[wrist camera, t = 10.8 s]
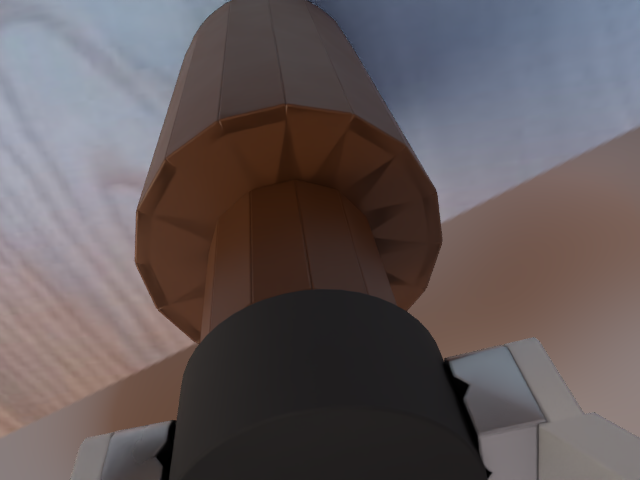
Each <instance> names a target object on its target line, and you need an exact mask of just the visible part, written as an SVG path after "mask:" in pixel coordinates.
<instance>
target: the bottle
mask: <svg viewBox="0 0 640 480" xmlns="http://www.w3.org/2000/svg"><path fill="white" fill-rule="evenodd" d="M441 245H442V231H441V222H440V213H439V204H438V195H437V192H436V189H435V187H434V185H433V184H432V182H431V180H430V179H429V177H428V175H427V173H426V172H425V170H424V168H423V167H422V165H421V163H420V161H419V160H418V158H417V156H416V155H415V153H414V151H413V150H412V148H411V146H410V144H409V143H408V141H407V139H406V138H405V136H404V134H403V132H402V131H401V129H400V127H399V126H398V124H397V122H396V121H395V119H394V117H393V115H392V114H391V112H390V110H389V109H388V107H387V105H386V104H385V102H384V100H383V98H382V97H381V95H380V93H379V92H378V90H377V88H376V86H375V85H374V83H373V81H372V80H371V78H370V76H369V75H368V73H367V71H366V69H365V68H364V66H363V64H362V63H361V61H360V59H359V58H358V56H357V54H356V52H355V51H354V49H353V47H352V46H351V44H350V43H349V41H348V40H347V38H346V37H345V35H344V33H343V32H342V30H341V29H340V27H339V26H338V24H337V23H336V21H335V20H334V19H333V18H331V17H330V16H329V15H328V14H327V13H326V12H324V11H323V10H322V9H320V8H319V7H318V6H316V5H314V4H313V3H311V2H309V1H307V0H232V1H230V2H228V3H226V4H224V5H223V6H221V7H220V8H218V9H217V10H216V11H215V12H213V13H212V14H211V15H210V16H209V17H208V18H207V19H206V20H205V21H204V23H202V25H201V26H200V28H199V29H198V31H197V33H196V34H195V36H194V38H193V40H192V42H191V44H190V47H189V49H188V50H187V52H186V54H185V57H184V60H183V63H182V66H181V70H180V73H179V76H178V79H177V82H176V85H175V89H174V92H173V95H172V98H171V101H170V105H169V108H168V111H167V114H166V117H165V120H164V124H163V127H162V130H161V133H160V136H159V140H158V143H157V146H156V149H155V152H154V156H153V159H152V162H151V165H150V168H149V171H148V175H147V178H146V181H145V184H144V187H143V191H142V194H141V197H140V200H139V203H138V206H137V210H136V234H135V263H136V266H137V269H138V271H139V273H140V275H141V277H142V279H143V281H144V283H145V285H146V287H147V290H148V292H149V294H150V296H151V298H152V300H153V302H154V304H155V306H156V308H157V309H158V311H159V312H161V313H162V314H163V315H164V316H165V317H166V318H167V319H169V320H170V321H171V322H172V323H173V324H174V325H176V326H177V327H178V328H179V329H180V330H181V331H182V332H184V333H185V334H186V335H187V336H188V337H189V338H191V339H192V340H193V341H194V342H196V343H197V344H200V343H201V342H202V340H203V339H204V338H205V337H206V335H207V334H209V333H210V332H211V331H212V330H213V329H214V328H215V327H216V326H217V325H218V324H220V323H221V322H222V321H224V320H225V319H227V318H228V317H230V316H231V315H232V314H234V313H236V312H238V311H240V310H242V309H243V308H245V307H247V306H249V305H252V304H254V303H256V302H259V301H261V300H264V299H267V298H270V297H274V296H277V295H281V294H284V293H290V292H296V291H302V290H314V289H337V290H347V291H354V292H360V293H364V294H368V295H371V296H375V297H378V298H381V299H383V300H386V301H388V302H391V303H393V304H395V305H396V306H398V307H400V308H402V309H403V310H405V311H407V310H408V309H409V308H410V307H411V306H412V305H413V304H414V302H415V301H416V300H417V299H418V298H419V297H420V296H421V294H422V293H423V292H424V291H425V289H426V288H427V286H428V283H429V280H430V276H431V274H432V271H433V268H434V265H435V263H436V260H437V257H438V254H439V251H440V248H441Z"/></svg>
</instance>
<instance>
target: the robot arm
mask: <svg viewBox="0 0 640 480" xmlns="http://www.w3.org/2000/svg"><path fill="white" fill-rule="evenodd" d="M444 364H445V367H446V370H447V372H448V375H449V377H450V380H451V382H452V385H453V388H454V390H455V393H456V395H457V398H458V400H459V402H460V405H461V407H462V410H463V412H464V415H465V419H466V421H467V424H468V426H469V429H470V431H471V434H472V437H473V439H474V442H475V444H476V447H477V450H478V452H479V455H480V457H481V459H482V462H483V464H484V466H485V469H486V474H487V479H488V480H640V438H639V437H637V436H636V435H634V434H632V433H630V432H628V431H627V430H625V429H623V428H621V427H620V426H618V425H616V424H614V423H612V422H611V421H609V420H607V419H605V418H603V417H602V416H600V415H598V414H596V413H595V412H594V413H588V414H584V412H583V411H582V409H581V407H580V406H579V404H578V403H577V401H576V400H575V398H574V396H573V395H572V393H571V392H570V390H569V388H568V387H567V385H566V383H565V382H564V380H563V378H562V377H561V375H560V374H559V372H558V370H557V369H556V367H555V365H554V364H553V362H552V361H551V360H550V357H549V356H548V354H547V353H546V351H545V349H544V348H543V346H542V344H541V343H540V341H538V340H537V339H536V338H534V337H533V338H529V339H525V340H521V341H517V342H512V343H508V344H504V345H499V346H494V347H490V348H486V349H481V350H477V351H473V352H469V353H465V354H460V355H456V356H452V357H448V358H445V360H444ZM176 422H177V421H176V420H171V421H166V422H161V423H157V424H151V425H146V426H141V427H137V428H131V429H126V430H121V431H116V432H113V433H108V434H104V435H98V436H93V437H88V438H86V439H85V440H84V442H83V443H82V444H81V446H80V447H79V451H78V454H77V457H76V461H75V464H74V467H73V471H72V474H71V478H70V480H169V475H170V467H171V460H172V452H173V445H174V437H175V430H176Z"/></svg>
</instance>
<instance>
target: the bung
mask: <svg viewBox="0 0 640 480" xmlns="http://www.w3.org/2000/svg"><path fill="white" fill-rule="evenodd" d="M169 480H488V479H487V474H486V469H485V466H484V464H483V462H482V459H481V457H480V455H479V452H478V450H477V447H476V444H475V442H474V439H473V437H472V434H471V431H470V429H469V426H468V424H467V421H466V419H465V415H464V412H463V410H462V407H461V405H460V402H459V400H458V398H457V395H456V393H455V390H454V388H453V385H452V382H451V380H450V377H449V375H448V372H447V370H446V367H445V364H444V361H443V358H442V356H441V353H440V351H439V348H438V346H437V344H436V342H435V340H434V339H433V337H432V336H431V334H430V333H429V331H428V330H427V329H426V328H425V327H424V326H423V325H422V324H421V323H420V322H419V321H418V320H417V319H416V318H414V317H413V316H412V315H411V314H409V313H408V312H407V311H405V310H403V309H402V308H400V307H398V306H396V305H395V304H393V303H391V302H388V301H386V300H383V299H381V298H378V297H375V296H371V295H368V294H364V293H360V292H354V291H347V290H337V289H314V290H302V291H296V292H290V293H284V294H281V295H277V296H274V297H270V298H267V299H264V300H261V301H259V302H256V303H254V304H252V305H249V306H247V307H245V308H243V309H242V310H240V311H238V312H236V313H234V314H232V315H231V316H230V317H228V318H227V319H225V320H224V321H222V322H221V323H220V324H218V325H217V326H216V327H215V328H214V329H213V330H212V331H211V332H210V333H209V334H207V335H206V337H205V338H204V339H203V340H202V342H201V343H200V344H199V345H198V347H197V348H196V349H195V351H194V353H193V354H192V356H191V358H190V359H189V361H188V364H187V366H186V369H185V371H184V374H183V380H182V385H181V392H180V400H179V407H178V415H177V422H176V430H175V437H174V445H173V452H172V460H171V467H170V475H169Z"/></svg>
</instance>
